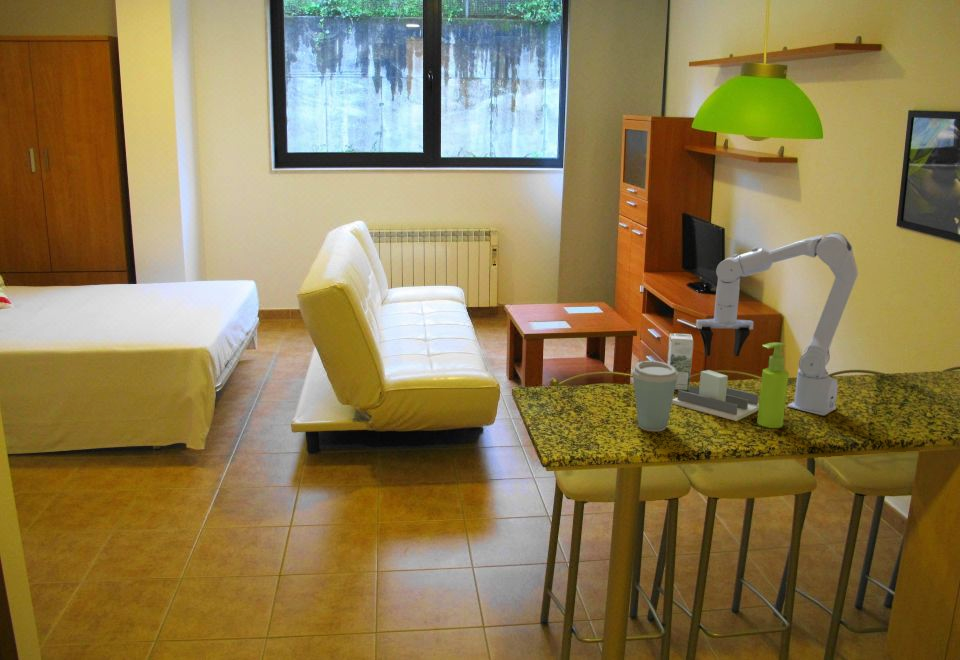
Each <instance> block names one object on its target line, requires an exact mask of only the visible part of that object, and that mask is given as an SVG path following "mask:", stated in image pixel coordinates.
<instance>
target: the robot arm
mask: <svg viewBox="0 0 960 660" xmlns="http://www.w3.org/2000/svg"><path fill="white" fill-rule="evenodd" d="M799 256H807V257H809V258H816V257H818V259H820V260H821V261H822V263H824V264H825V265H827V266H828V268H829V269H830V270H831V273H832V274H833V275H834V281H833V283H832V286H831V289H830V290H829V293H828V296H827V299H826V301H825V304H824V307H823V310H822V312H821V315H820V317H819V320H818V322H817V326H816V327H815V330H814V333H813V336H812V338H811V341H810V342H809V345H808V346H807V347H806V348H805V350H804V352H803V354H802V355H800V358H799V359H798V369H797V375H796V384H795V393H794V400H793V401H792V402H790V403H789V404H787V408H791V409H795V410H800V411H803V412H807V413H811V414H815V415H819V416H826V415H828V414H829V413H832V412H833V411H834V410H836V409H837V407H836V404H837V403H836V402H837V394H838V385H839V384H838V380H837V379H836V378H835V377H834V378H833V377H830V375H829V372H828V370H827V368H826V366H827V365H828V364H829V361H830V359H831V355H830V348H831V345H832V342H833V339H834V337H835V334H836V332H837V330H838V329H837V328H838V327H839V323H840V321H841V318H842V316H843V314H844V311H845V309H846V306H847V304H848V300H849V299H850V295H851V293H852V290H853V288H854V286H855V283H856V281H857V278H858V273H859V271H858V267H857V263H856V260H855V256H854V251H853V245H852V244H851V243H850V242H849V240H848V239H847V238H846V236H845V235H843V234H841V233H840V232H830V233H828V234H826V235H824V234H821V235H815V236H812V237H811V236H810V237H808V238H804V239H800V240H797V241H795V242H792V243H789V244H786V245H784V246H780V247H777V248H773V249H772V250H768V249H766V248H763V247H760V248H759V247H758V246H755V247H752V248H751V250H750V251H748V252H744V253H741V254H739V253H735V254H733V257H731V256H730V257H727V258H725V259H724V260H722V261H720V262H719V263H718V264H717V267H716V269H715V272H716V276H717V283H716V284H717V286H716V290H715V291H716V292H715V299H714V300H715V301H714V314H713V318H707V319H706V318H705V319H695V327H696V328H697V329H698V331H699V333H700V336H701V339H702V342H703V346H704V354H705V356H707V357H710V355H711V350H712V349H711V348H712V347H711V345H712V339H713V335H714V332H713V331H712V329H734V348H733V355H734V356H735V357H739V356H740V353H741V351H742V347H743V346H744V343H746V340H747V339H748V337H749V336H750V334H751V331H750V330H754V321H753V320H750V319H749V320H747V319H737V318H738V307H739V300H740V299H739V298H740V297H739V296H740V281H741V277H743V278H745V277H748V276H752V275H755V274H758V273H762V272H765V271H769V270H770V269H771V267H772V265H773V264H774V263H777V262H780V261H785V260H788V259H792V258H796V257H799Z"/></svg>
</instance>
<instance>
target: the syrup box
mask: <svg viewBox="0 0 960 660" xmlns="http://www.w3.org/2000/svg"><path fill="white" fill-rule="evenodd" d="M667 351H668V352H667V361H666V364H669V365H671V366H672V367H674V368H675V369H676V371H677V372H678V379H677V381H676V386H675V390H674V391H678V390H682V391H686V392H689V386H690V385H691V384H690V383H691V373H692V364H693V351H694V339H693V336H692V334H691V333H690V334H689V333H669V337H668V350H667Z"/></svg>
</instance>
